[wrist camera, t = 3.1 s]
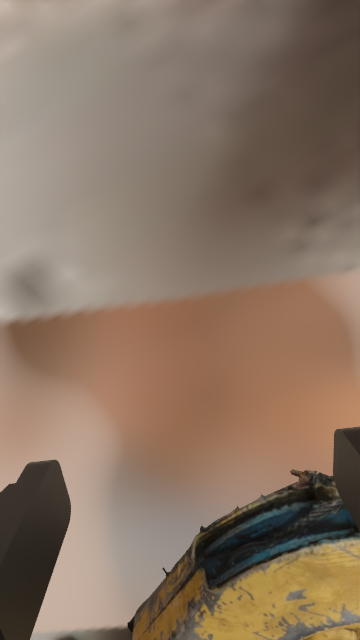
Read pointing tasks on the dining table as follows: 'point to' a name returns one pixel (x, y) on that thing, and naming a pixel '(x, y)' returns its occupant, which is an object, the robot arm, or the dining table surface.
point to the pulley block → (265, 573)
